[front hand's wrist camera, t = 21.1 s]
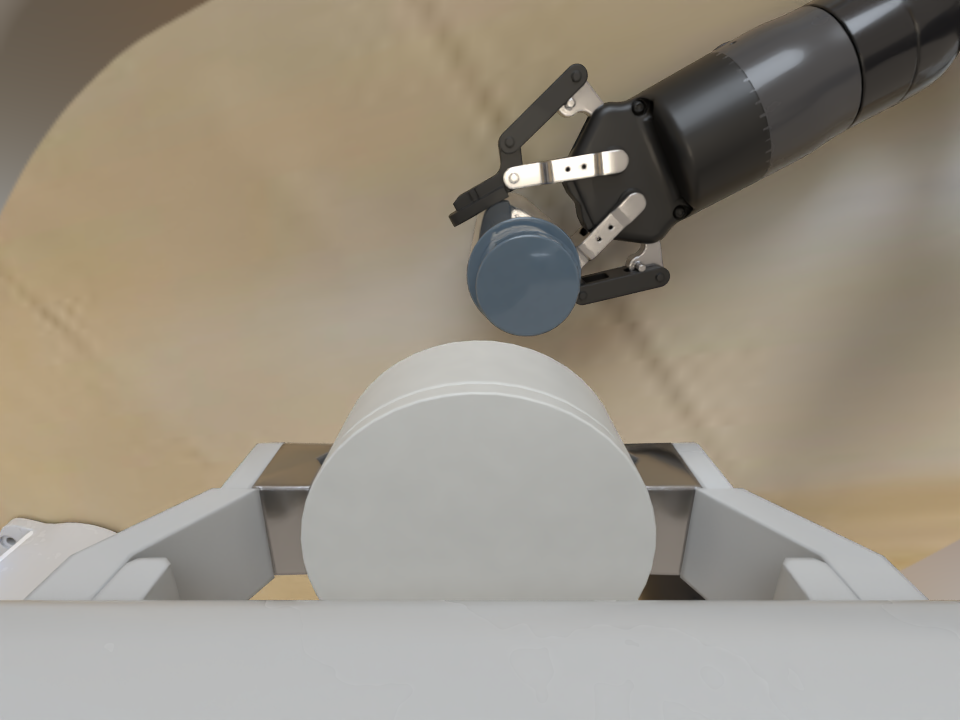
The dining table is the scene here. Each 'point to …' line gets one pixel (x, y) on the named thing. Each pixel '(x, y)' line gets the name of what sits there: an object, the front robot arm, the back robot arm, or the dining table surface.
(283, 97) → the dining table surface
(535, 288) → the dark grey piece
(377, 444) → the lid
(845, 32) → the back robot arm
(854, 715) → the front robot arm
